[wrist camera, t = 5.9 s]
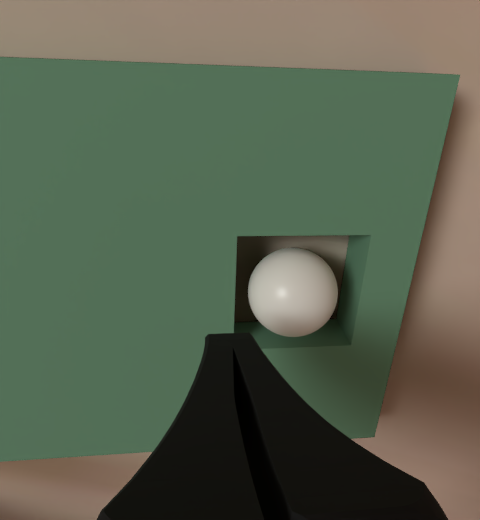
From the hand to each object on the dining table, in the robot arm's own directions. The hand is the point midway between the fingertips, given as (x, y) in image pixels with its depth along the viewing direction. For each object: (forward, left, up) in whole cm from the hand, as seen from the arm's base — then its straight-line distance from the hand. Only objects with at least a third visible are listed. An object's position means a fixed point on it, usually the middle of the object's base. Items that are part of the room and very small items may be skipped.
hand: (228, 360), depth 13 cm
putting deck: (-2, 0, -6) cm, 6 cm away
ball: (+3, 0, -4) cm, 5 cm away
